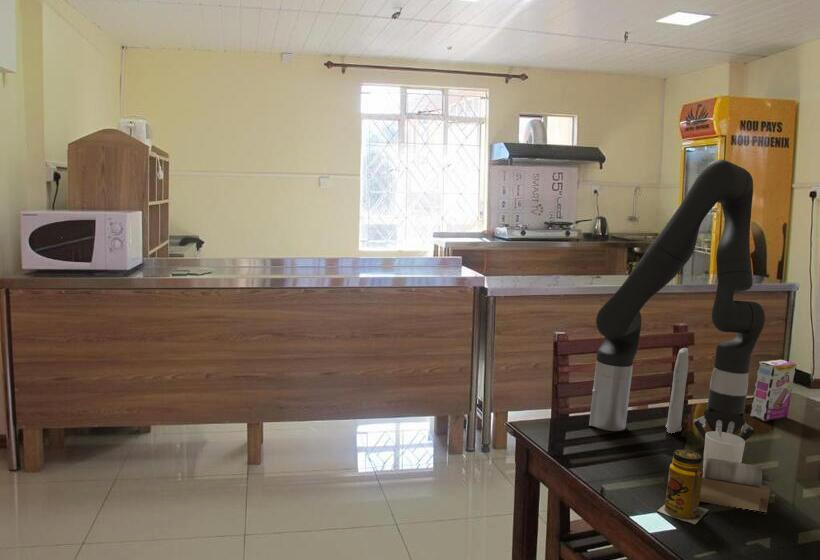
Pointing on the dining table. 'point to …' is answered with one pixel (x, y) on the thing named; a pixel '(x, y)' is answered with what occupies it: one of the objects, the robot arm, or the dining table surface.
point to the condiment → (684, 487)
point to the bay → (734, 485)
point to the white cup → (723, 447)
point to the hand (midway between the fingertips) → (718, 463)
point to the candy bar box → (773, 390)
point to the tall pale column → (678, 392)
